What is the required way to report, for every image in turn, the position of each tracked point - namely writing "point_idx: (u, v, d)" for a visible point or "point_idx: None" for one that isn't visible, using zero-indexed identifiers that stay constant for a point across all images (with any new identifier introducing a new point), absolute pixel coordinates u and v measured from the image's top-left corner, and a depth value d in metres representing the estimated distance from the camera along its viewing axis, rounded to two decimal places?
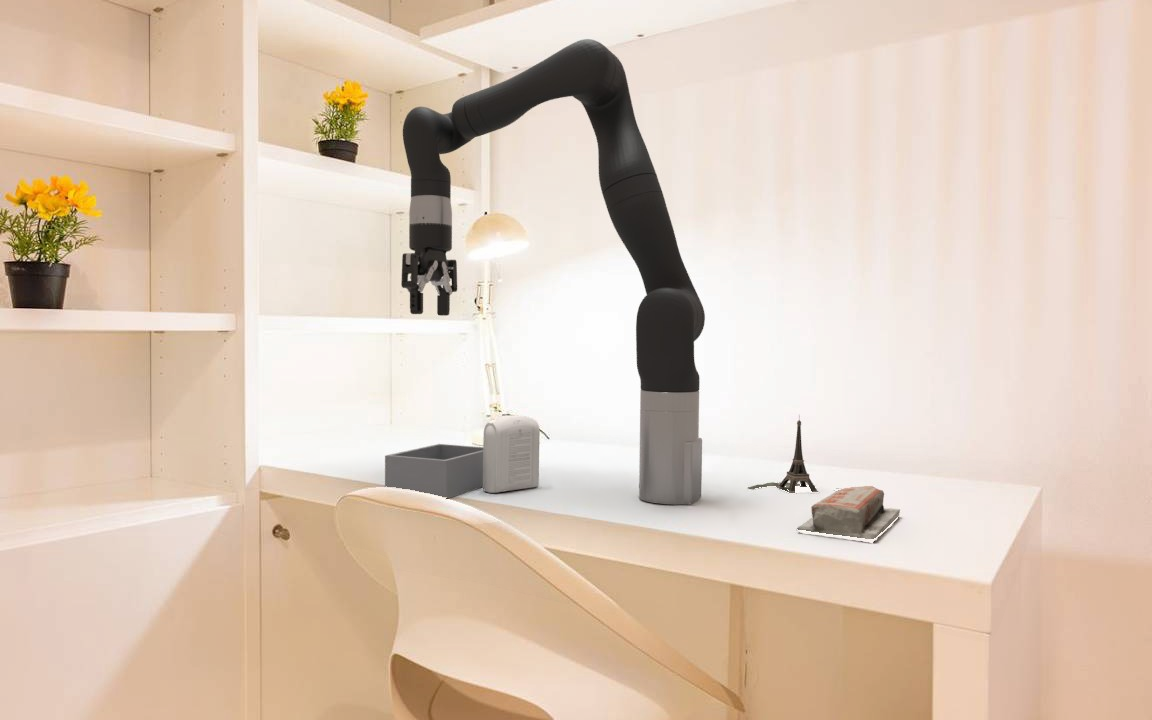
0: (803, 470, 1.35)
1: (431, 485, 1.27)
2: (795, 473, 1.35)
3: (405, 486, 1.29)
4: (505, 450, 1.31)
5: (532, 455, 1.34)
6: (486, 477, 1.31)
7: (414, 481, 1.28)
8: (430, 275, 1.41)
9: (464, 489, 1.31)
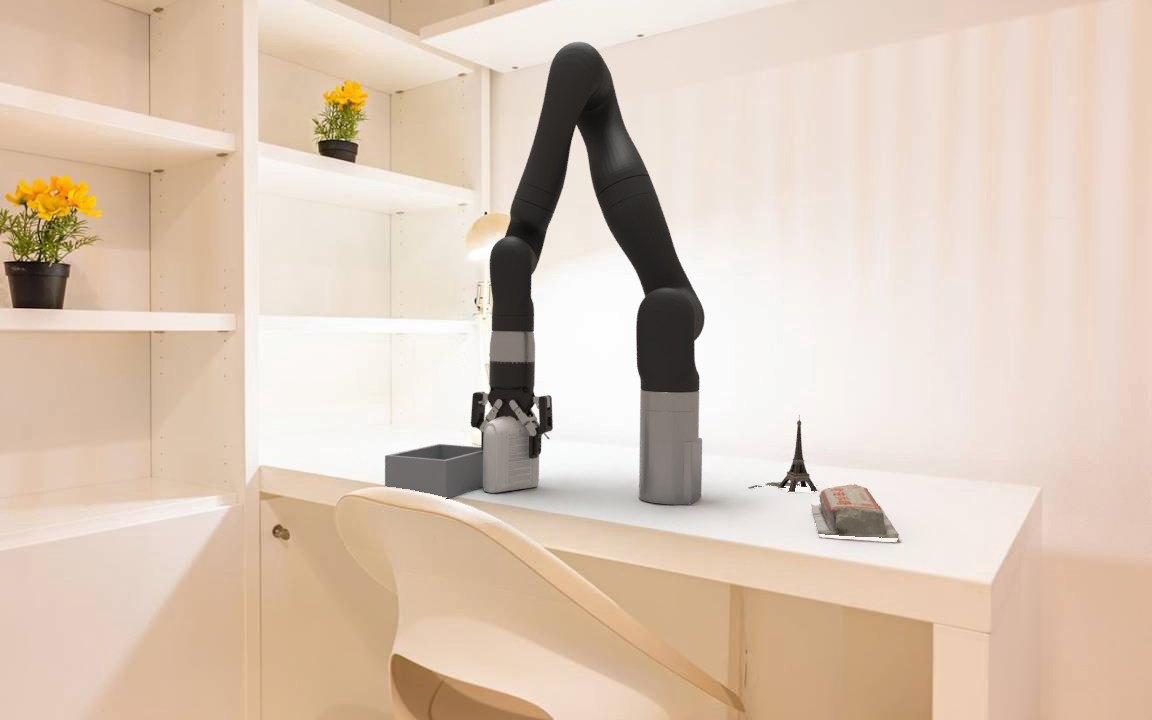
0: (803, 470, 1.36)
1: (431, 485, 1.27)
2: (795, 473, 1.35)
3: (405, 486, 1.29)
4: (505, 450, 1.31)
5: None
6: (486, 477, 1.31)
7: (414, 481, 1.28)
8: (530, 415, 1.34)
9: (464, 489, 1.31)
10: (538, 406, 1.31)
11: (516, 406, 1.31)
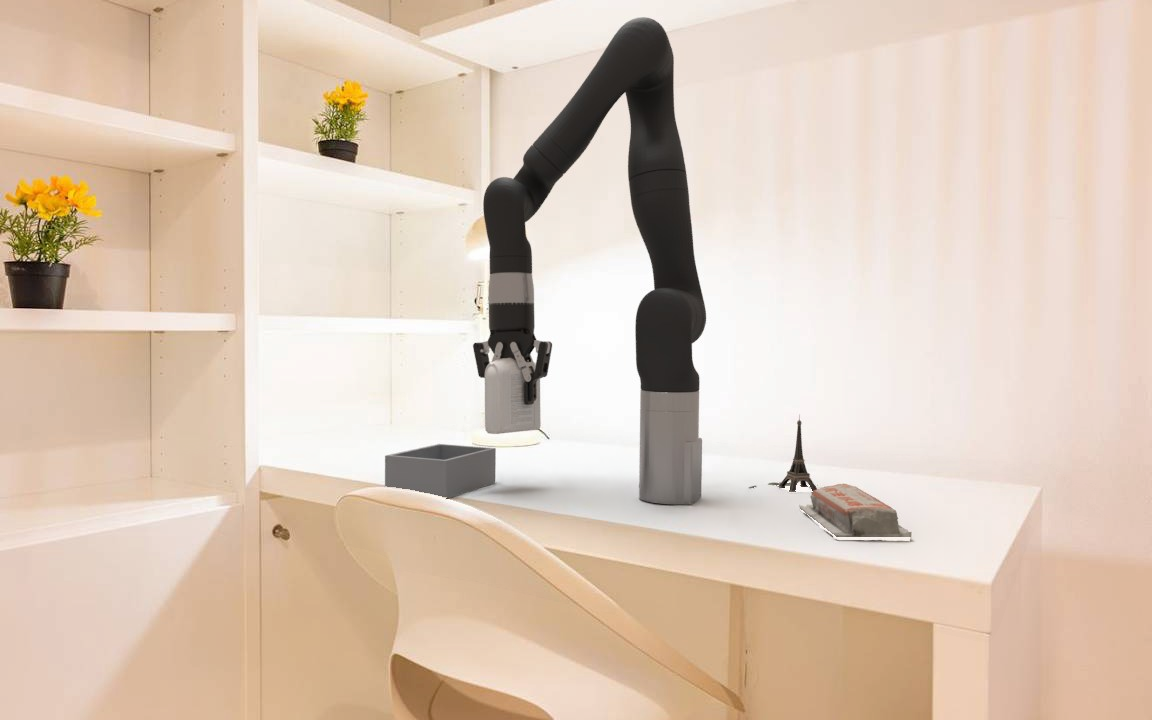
0: (803, 470, 1.36)
1: (431, 485, 1.27)
2: (796, 473, 1.35)
3: (405, 486, 1.29)
4: (507, 391, 1.30)
5: None
6: (489, 418, 1.30)
7: (414, 481, 1.28)
8: (527, 360, 1.34)
9: (464, 489, 1.31)
10: (537, 350, 1.30)
11: (517, 349, 1.31)
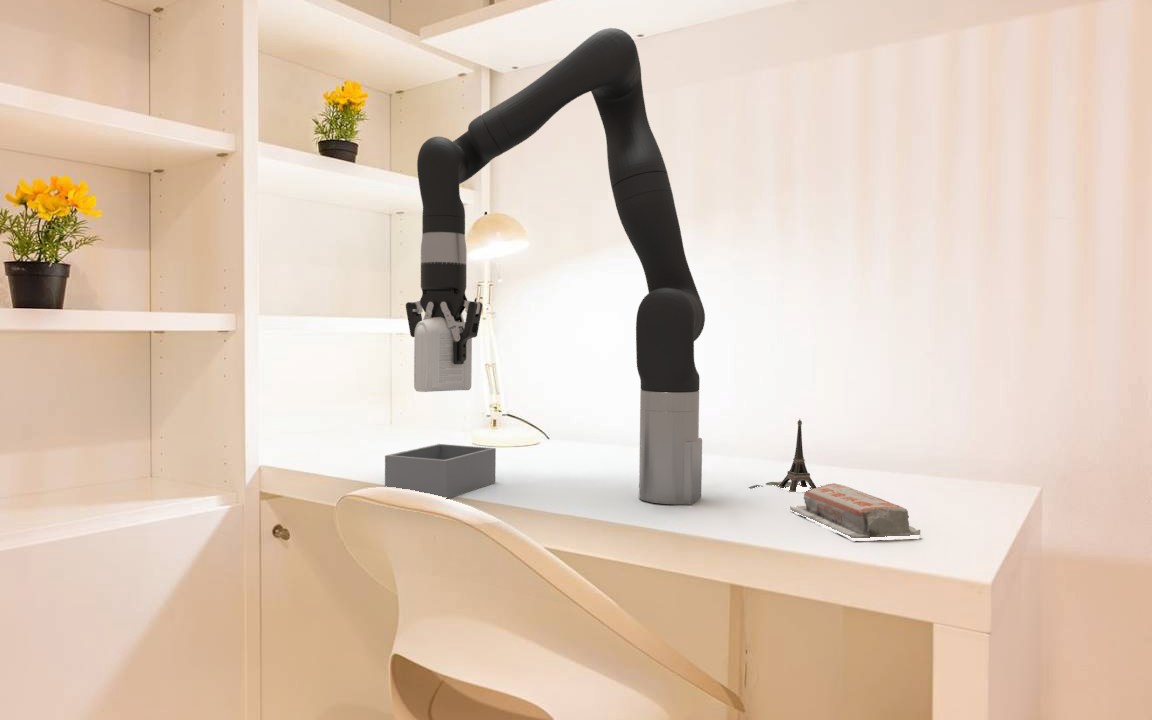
0: (804, 469, 1.36)
1: (431, 485, 1.27)
2: (796, 472, 1.36)
3: (405, 486, 1.29)
4: (436, 349, 1.31)
5: None
6: (417, 376, 1.31)
7: (414, 481, 1.28)
8: (459, 320, 1.35)
9: (464, 489, 1.31)
10: (467, 310, 1.31)
11: (446, 309, 1.31)
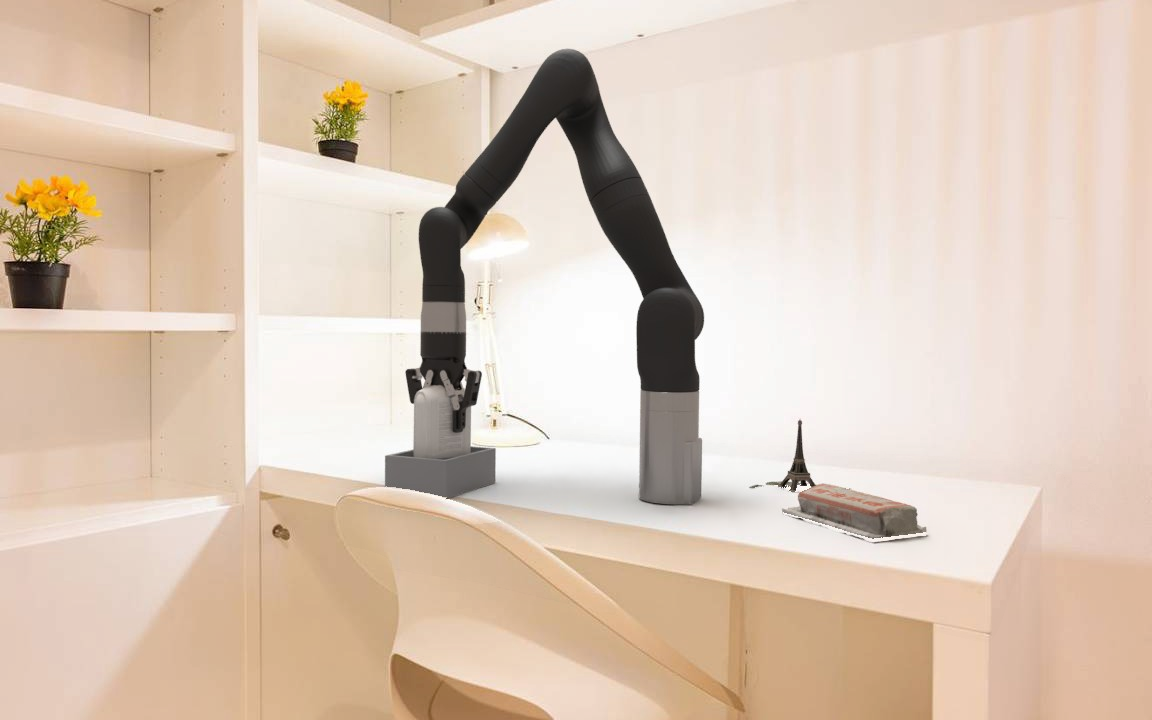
0: (804, 469, 1.36)
1: (431, 485, 1.27)
2: (796, 472, 1.36)
3: (405, 486, 1.29)
4: (435, 419, 1.31)
5: None
6: (416, 445, 1.31)
7: (414, 481, 1.28)
8: (458, 388, 1.35)
9: (464, 489, 1.31)
10: (466, 380, 1.31)
11: (446, 378, 1.32)
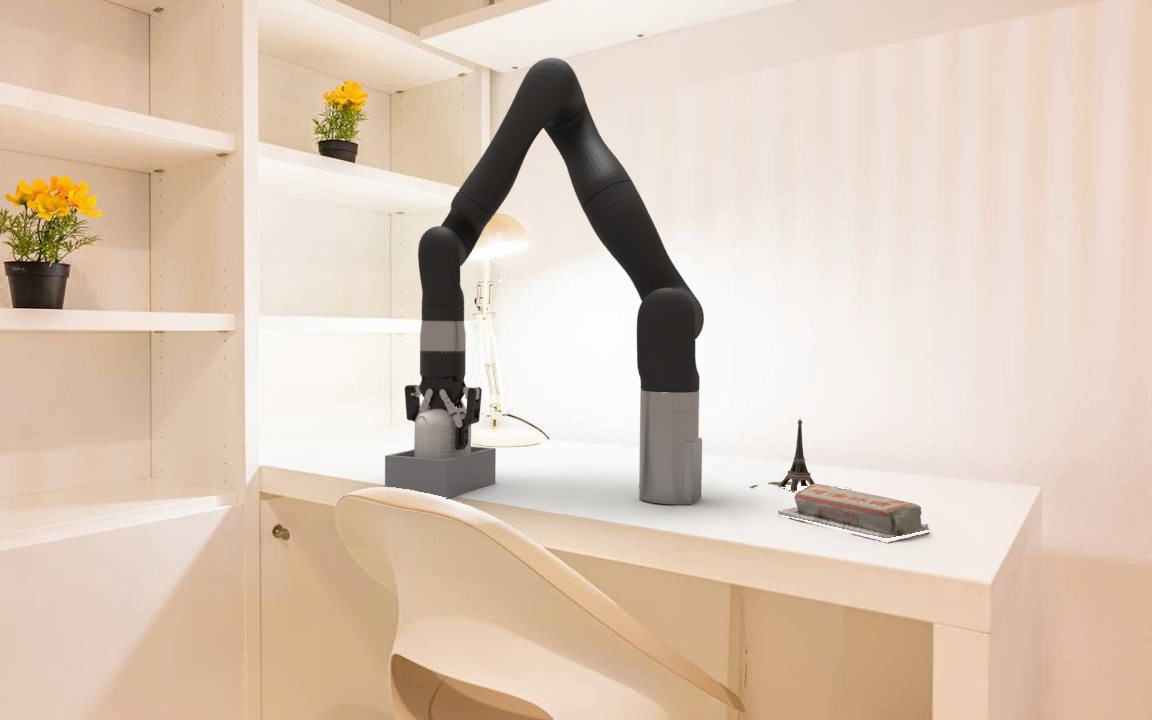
0: (804, 469, 1.37)
1: (431, 485, 1.27)
2: (797, 472, 1.36)
3: (405, 486, 1.29)
4: (436, 443, 1.31)
5: None
6: None
7: (414, 481, 1.28)
8: (459, 406, 1.35)
9: (464, 489, 1.31)
10: (467, 397, 1.31)
11: (446, 396, 1.32)
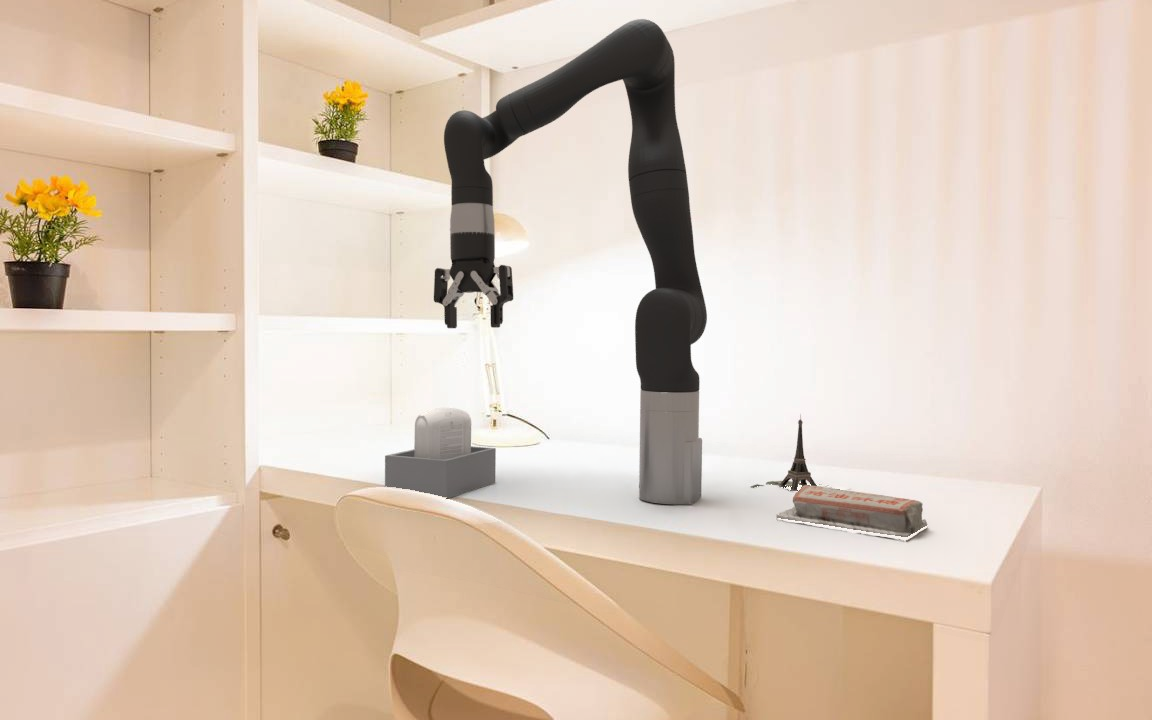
0: (805, 469, 1.37)
1: (431, 485, 1.27)
2: (797, 472, 1.36)
3: (405, 486, 1.29)
4: (436, 443, 1.31)
5: (463, 447, 1.35)
6: None
7: (414, 481, 1.28)
8: None
9: (464, 489, 1.31)
10: (498, 275, 1.34)
11: (477, 277, 1.35)
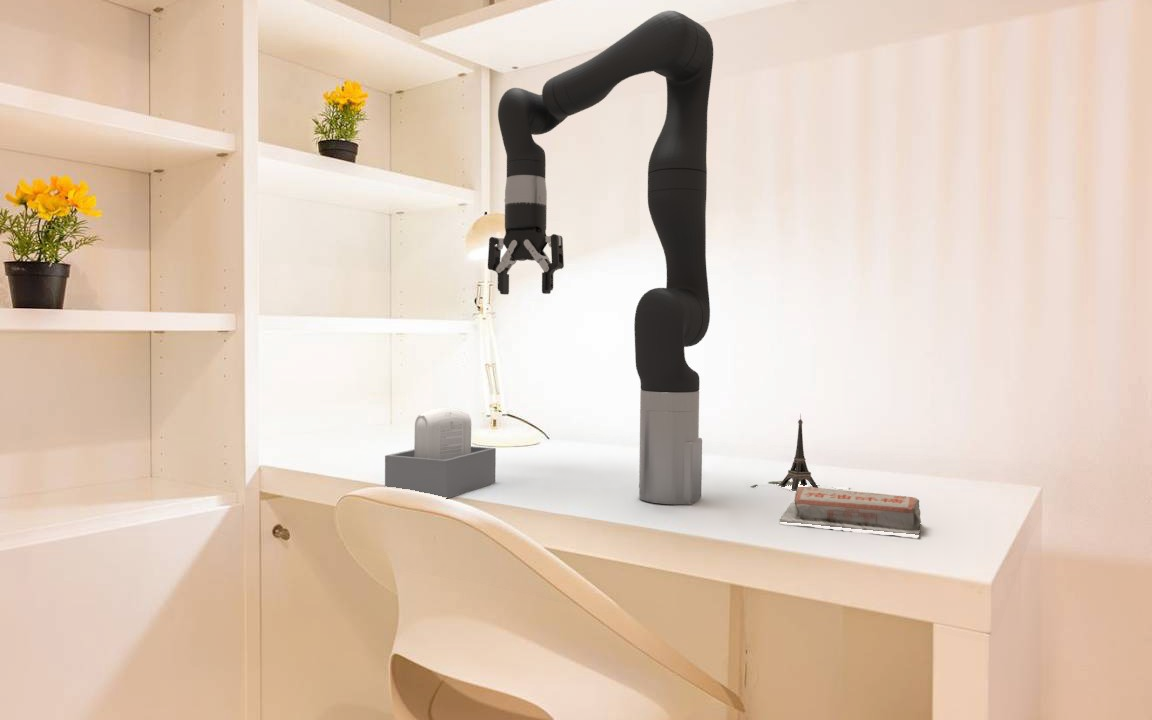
0: (805, 468, 1.37)
1: (431, 485, 1.27)
2: (797, 471, 1.37)
3: (405, 486, 1.29)
4: (436, 443, 1.31)
5: (463, 447, 1.35)
6: None
7: (414, 481, 1.28)
8: None
9: (464, 489, 1.31)
10: (550, 243, 1.42)
11: (530, 245, 1.43)
